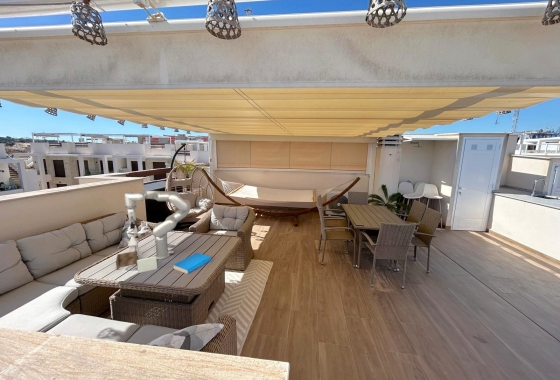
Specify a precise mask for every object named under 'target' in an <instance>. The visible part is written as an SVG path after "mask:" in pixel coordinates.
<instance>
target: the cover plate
mask: <svg viewBox="0 0 560 380" xmlns="http://www.w3.org/2000/svg"><path fill="white" fill-rule="evenodd" d="M157 262H158V261H157V259H156V256H155V255H154V256H151V257H147V258H146V257H145V258H140V259H138V260H137V266H136V267H137V273H138V274H140V273H144V272H148V271H154V270H157V269H158V265H157Z"/></svg>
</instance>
